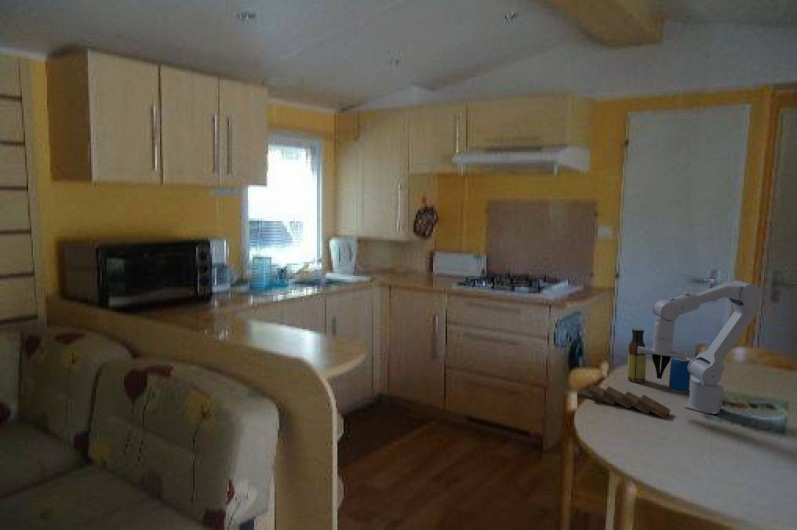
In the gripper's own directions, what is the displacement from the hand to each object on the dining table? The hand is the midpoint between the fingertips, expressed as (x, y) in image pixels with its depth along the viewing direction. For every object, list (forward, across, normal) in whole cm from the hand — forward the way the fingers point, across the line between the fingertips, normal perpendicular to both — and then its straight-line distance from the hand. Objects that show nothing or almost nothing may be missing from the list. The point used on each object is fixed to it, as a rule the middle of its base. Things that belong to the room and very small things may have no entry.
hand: (659, 377), depth 184 cm
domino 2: (+10, +12, +2) cm, 16 cm away
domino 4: (+10, +1, +5) cm, 11 cm away
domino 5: (+10, -4, +6) cm, 12 cm away
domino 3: (+10, +7, +3) cm, 12 cm away
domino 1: (+10, +15, +1) cm, 19 cm away
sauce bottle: (+10, +9, -25) cm, 28 cm away
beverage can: (+10, -6, -22) cm, 25 cm away
